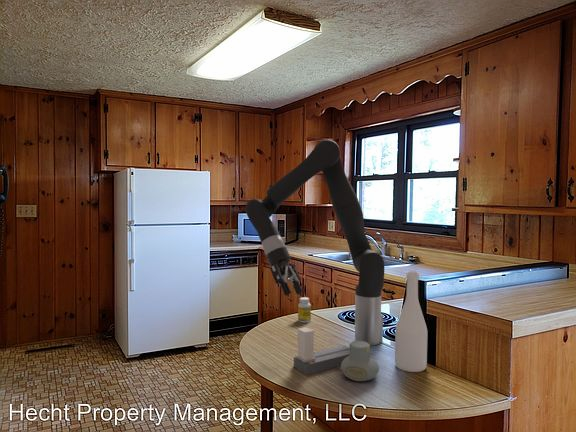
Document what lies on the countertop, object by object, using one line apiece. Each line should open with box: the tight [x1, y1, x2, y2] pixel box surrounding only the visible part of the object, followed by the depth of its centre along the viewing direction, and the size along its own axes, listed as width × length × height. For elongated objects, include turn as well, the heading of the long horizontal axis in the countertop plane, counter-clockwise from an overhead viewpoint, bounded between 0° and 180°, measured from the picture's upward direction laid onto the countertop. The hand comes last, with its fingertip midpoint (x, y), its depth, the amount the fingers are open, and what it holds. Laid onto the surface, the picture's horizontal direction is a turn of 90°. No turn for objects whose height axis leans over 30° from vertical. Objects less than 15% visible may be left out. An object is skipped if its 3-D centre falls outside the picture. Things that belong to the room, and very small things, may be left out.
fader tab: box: [295, 327, 316, 363], centre depth 133 cm, size 4×5×9 cm
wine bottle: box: [394, 270, 428, 373], centre depth 134 cm, size 10×10×30 cm
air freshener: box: [340, 340, 380, 383], centre depth 127 cm, size 11×8×10 cm
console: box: [293, 344, 350, 376], centre depth 137 cm, size 20×7×3 cm, turn 122°
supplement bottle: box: [297, 296, 312, 324], centre depth 181 cm, size 5×5×10 cm
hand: (294, 294), depth 145 cm, fingers open, 8 cm apart
